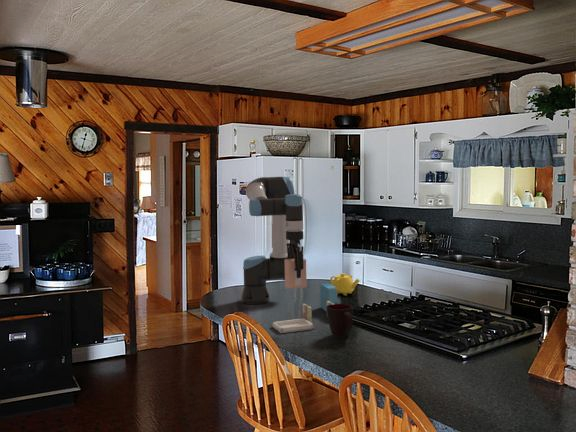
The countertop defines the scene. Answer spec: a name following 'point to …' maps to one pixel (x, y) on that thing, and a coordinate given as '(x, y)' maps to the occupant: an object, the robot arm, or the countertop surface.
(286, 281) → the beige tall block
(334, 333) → the cup
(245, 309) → the countertop surface
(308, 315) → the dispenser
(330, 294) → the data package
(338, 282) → the teapot
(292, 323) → the tray
